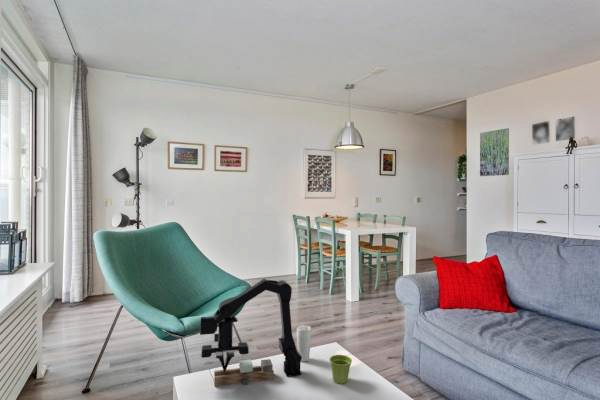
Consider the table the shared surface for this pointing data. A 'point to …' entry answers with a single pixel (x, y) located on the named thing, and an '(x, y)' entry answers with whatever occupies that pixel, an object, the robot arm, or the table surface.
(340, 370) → the plant pot
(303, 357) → the drinking glass
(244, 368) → the block
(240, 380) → the beam
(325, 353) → the table surface
